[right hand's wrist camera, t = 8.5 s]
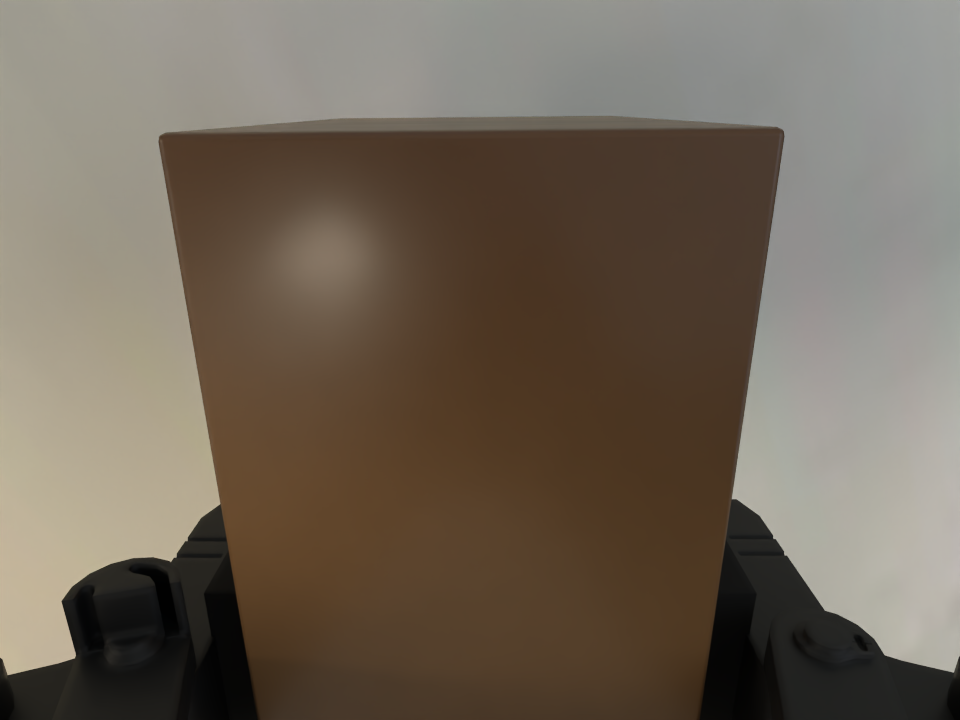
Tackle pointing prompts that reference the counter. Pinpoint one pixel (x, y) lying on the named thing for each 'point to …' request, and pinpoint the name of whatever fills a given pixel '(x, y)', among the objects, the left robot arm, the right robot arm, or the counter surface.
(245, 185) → the bar
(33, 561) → the counter surface
